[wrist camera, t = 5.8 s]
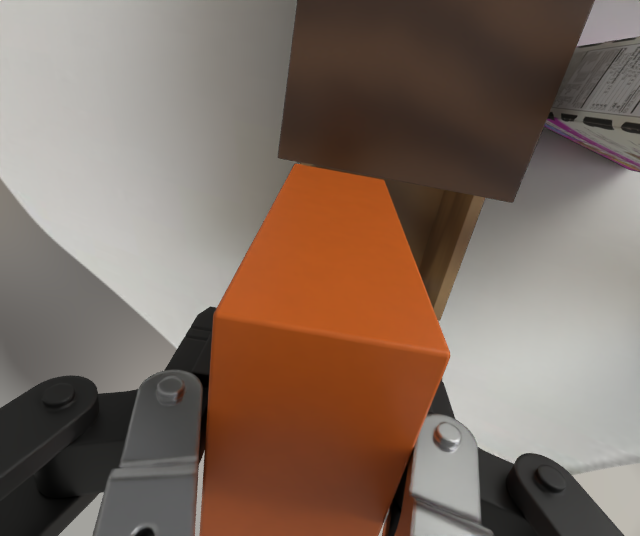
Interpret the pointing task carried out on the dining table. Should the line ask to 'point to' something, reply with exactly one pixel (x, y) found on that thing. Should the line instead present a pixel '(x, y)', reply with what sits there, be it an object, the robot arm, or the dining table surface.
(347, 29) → the cabinet
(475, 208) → the drawer
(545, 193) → the dining table surface
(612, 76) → the candy bar box
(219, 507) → the orange rectangular prism
